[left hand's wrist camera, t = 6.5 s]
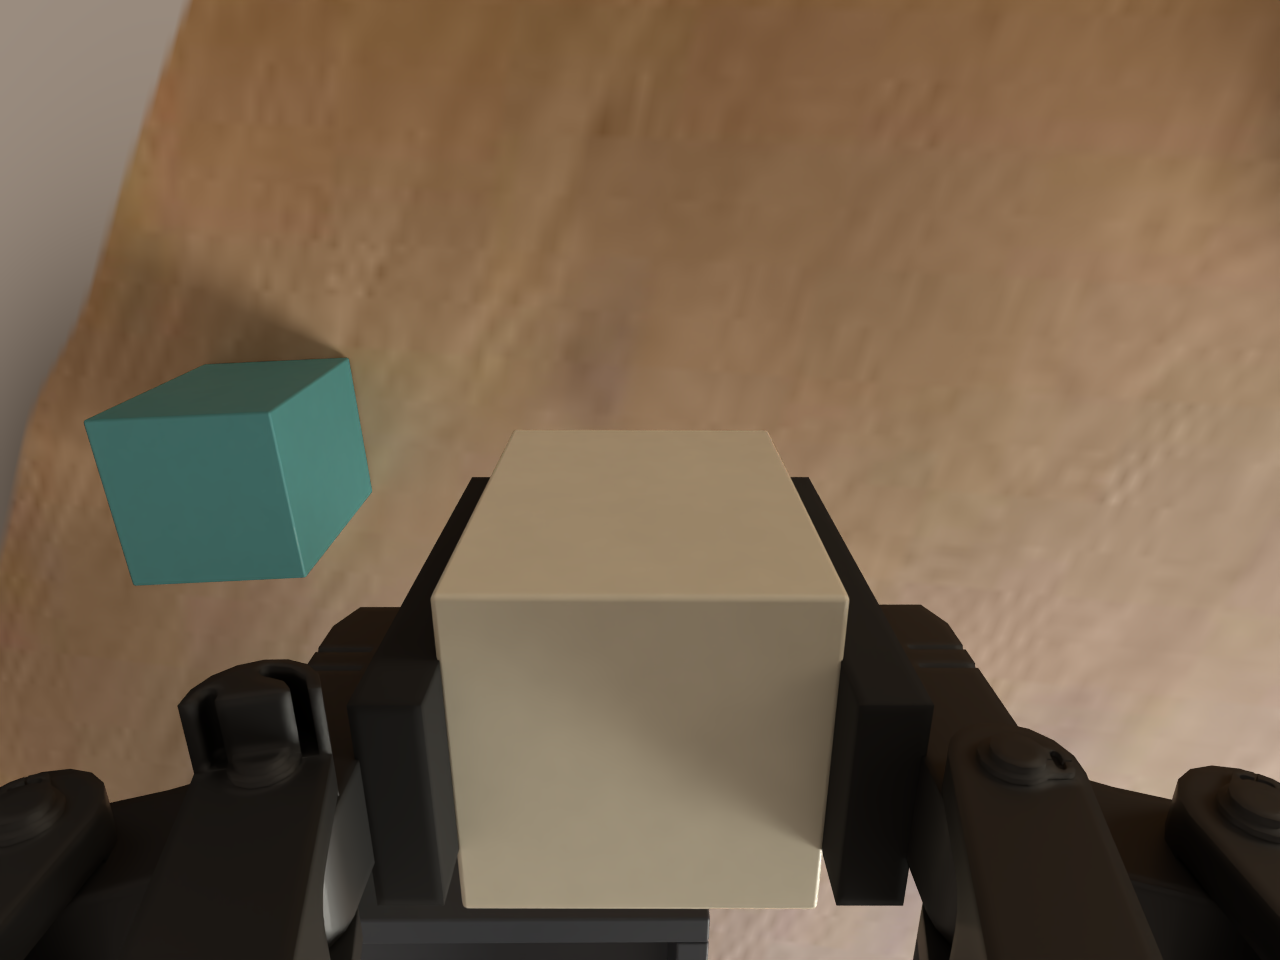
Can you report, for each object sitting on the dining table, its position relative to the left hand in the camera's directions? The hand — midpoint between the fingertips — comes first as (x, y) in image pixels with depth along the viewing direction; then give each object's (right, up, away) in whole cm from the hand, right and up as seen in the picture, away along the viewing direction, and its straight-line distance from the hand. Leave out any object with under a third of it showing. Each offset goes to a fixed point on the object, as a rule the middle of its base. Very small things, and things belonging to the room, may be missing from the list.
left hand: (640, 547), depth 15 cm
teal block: (-11, +3, +11) cm, 16 cm away
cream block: (0, 0, 0) cm, 0 cm away
